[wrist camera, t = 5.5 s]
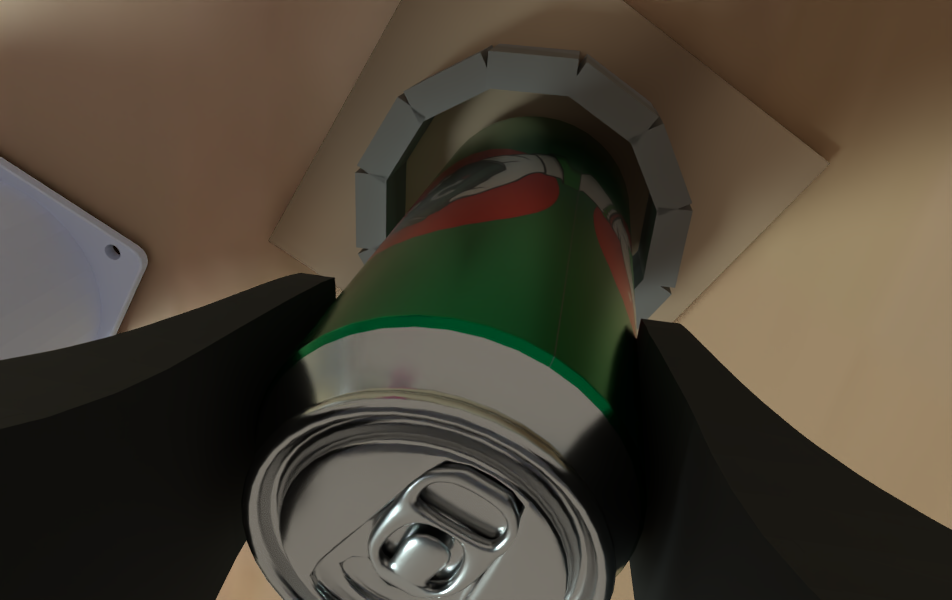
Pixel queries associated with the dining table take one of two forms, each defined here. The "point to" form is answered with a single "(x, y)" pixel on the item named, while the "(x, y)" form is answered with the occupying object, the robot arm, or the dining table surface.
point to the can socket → (563, 98)
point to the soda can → (467, 394)
